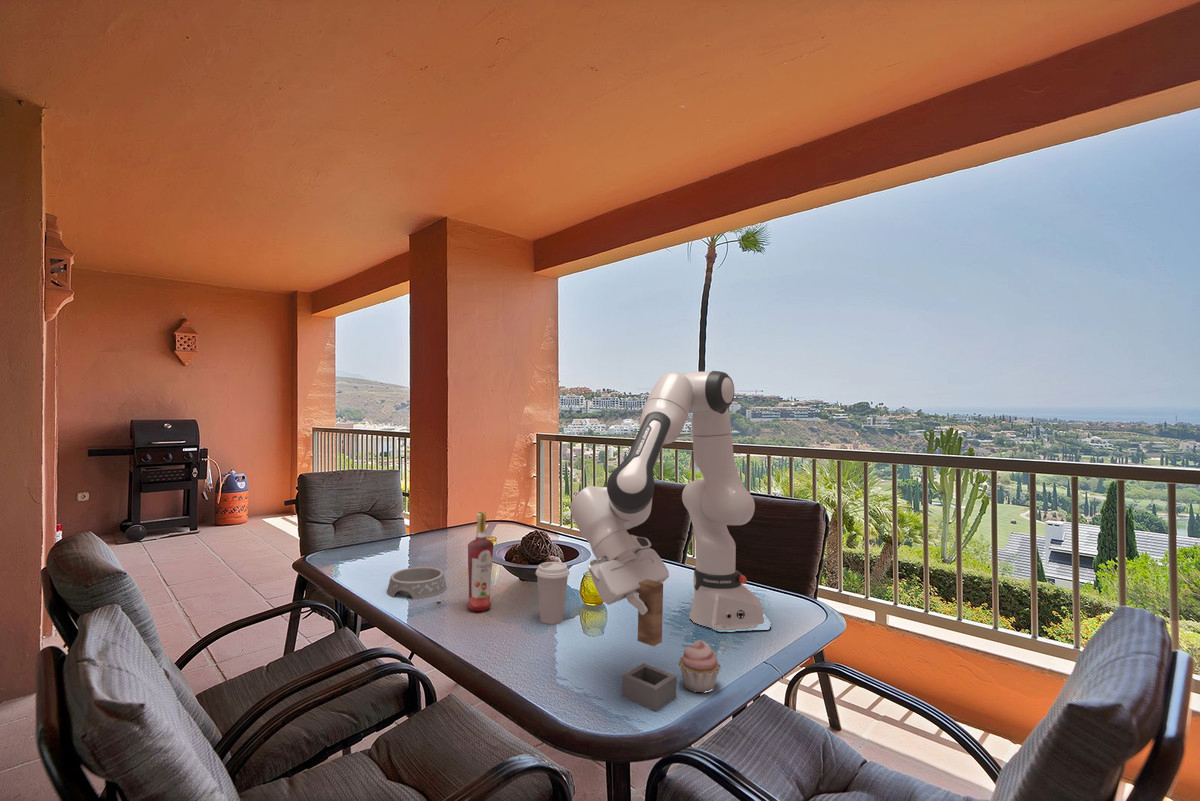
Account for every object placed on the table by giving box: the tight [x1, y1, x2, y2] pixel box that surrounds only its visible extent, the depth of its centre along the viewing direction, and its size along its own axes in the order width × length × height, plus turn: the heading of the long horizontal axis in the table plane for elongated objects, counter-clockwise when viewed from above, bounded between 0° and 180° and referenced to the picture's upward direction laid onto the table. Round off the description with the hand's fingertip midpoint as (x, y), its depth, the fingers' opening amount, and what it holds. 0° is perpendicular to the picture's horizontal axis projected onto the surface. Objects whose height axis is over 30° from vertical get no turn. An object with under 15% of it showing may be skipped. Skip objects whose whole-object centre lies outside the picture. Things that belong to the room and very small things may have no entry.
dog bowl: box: [386, 566, 447, 600], centre depth 174 cm, size 17×18×5 cm
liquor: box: [467, 511, 494, 613], centre depth 158 cm, size 7×7×28 cm
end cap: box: [621, 662, 678, 713], centre depth 111 cm, size 8×7×4 cm
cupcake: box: [677, 639, 722, 693], centre depth 116 cm, size 9×9×10 cm
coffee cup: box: [535, 561, 571, 625], centre depth 151 cm, size 10×10×15 cm
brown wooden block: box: [637, 579, 664, 647], centre depth 112 cm, size 4×3×12 cm
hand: (652, 610), depth 111 cm, fingers closed on brown wooden block, 3 cm apart
